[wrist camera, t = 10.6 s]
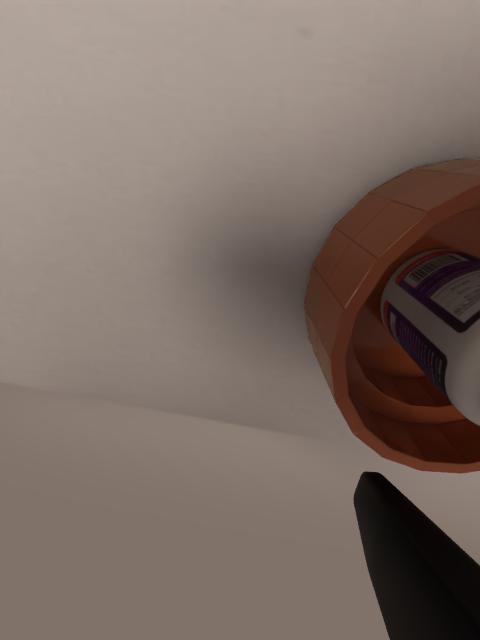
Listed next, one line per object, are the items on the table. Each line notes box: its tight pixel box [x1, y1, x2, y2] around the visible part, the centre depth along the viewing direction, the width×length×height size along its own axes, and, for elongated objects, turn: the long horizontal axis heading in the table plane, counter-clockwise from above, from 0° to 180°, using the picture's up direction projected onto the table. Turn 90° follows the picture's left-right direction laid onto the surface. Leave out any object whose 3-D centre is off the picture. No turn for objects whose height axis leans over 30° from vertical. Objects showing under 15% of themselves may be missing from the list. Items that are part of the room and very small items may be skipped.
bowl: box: [304, 159, 480, 473], centre depth 17 cm, size 13×13×6 cm
